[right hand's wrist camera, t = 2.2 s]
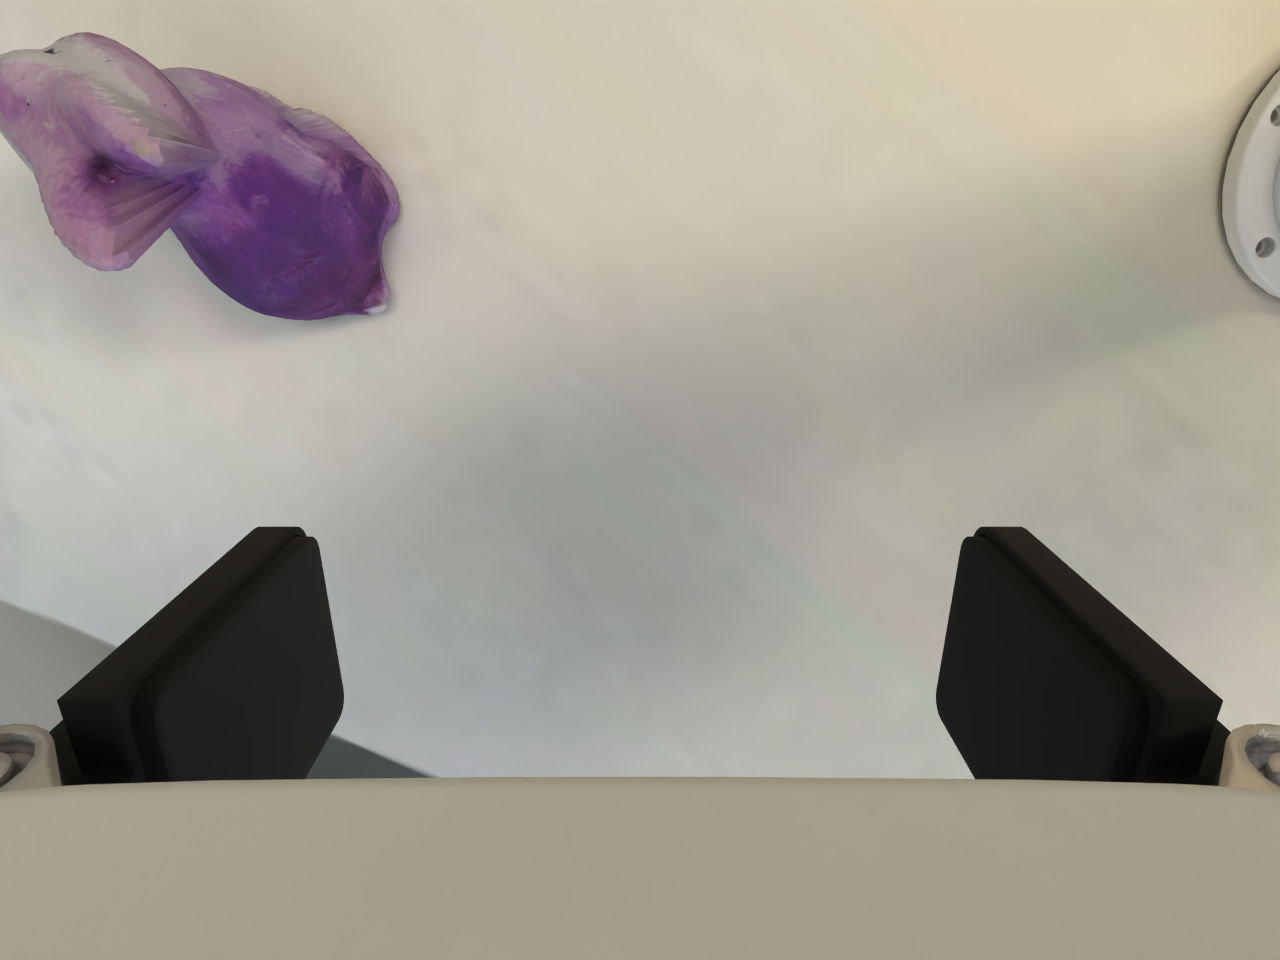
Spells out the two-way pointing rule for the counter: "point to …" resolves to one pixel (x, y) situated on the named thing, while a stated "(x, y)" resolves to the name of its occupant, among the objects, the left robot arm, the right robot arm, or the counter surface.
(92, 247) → the figurine
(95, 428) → the counter surface
